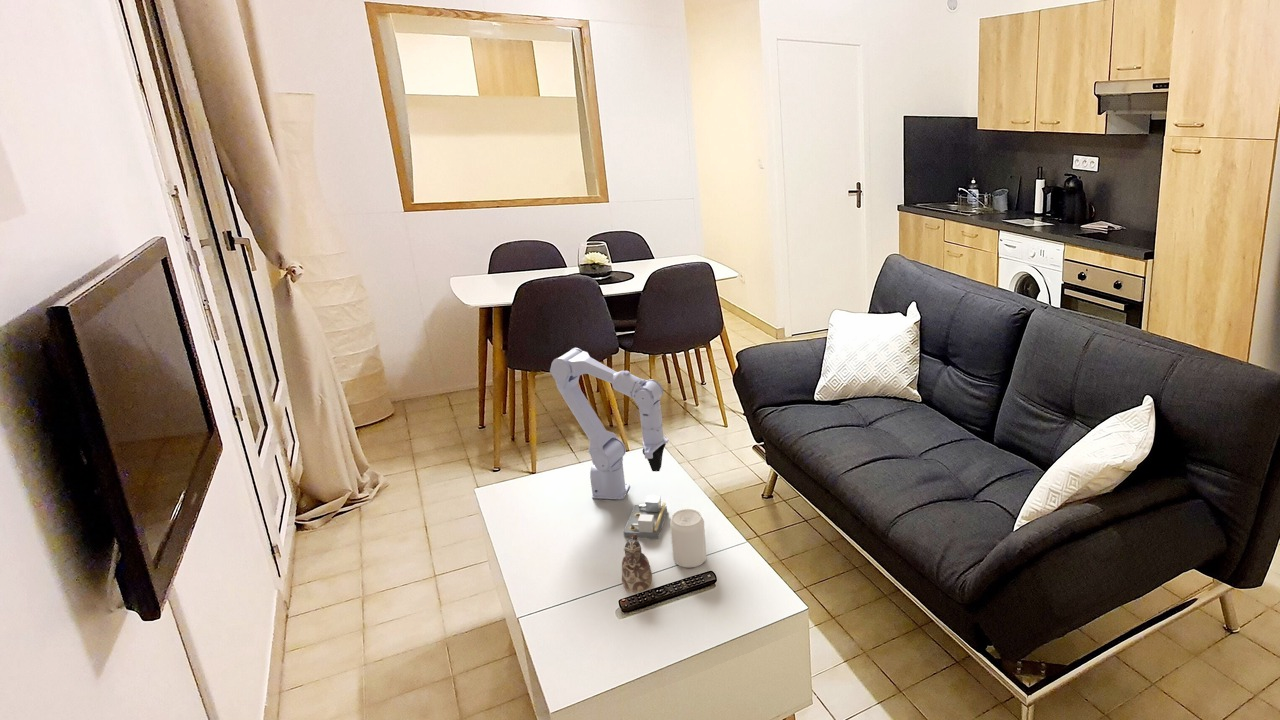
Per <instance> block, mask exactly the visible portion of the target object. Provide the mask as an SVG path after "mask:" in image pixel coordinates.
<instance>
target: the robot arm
mask: <svg viewBox="0 0 1280 720" xmlns="http://www.w3.org/2000/svg"><path fill="white" fill-rule="evenodd" d="M549 373H550V374H551V377H552V378H553V379H554V381H555V384H556V388H557V391H558V392H559V394H560V395H561V397H562V399H563V400H564V402H565V403H566V405H567V406H568V408H569V409H570V412H571V413H572V414H573V416H574V418H575V419H576V421H577V422H578V424H579V426H580V428H581V429H582V431H583V432H584V433H585V435H586V437H587V438H588V441H589V445H588V451H587V452H588V453H589V455H590V458H591V463H592V465H591V468H590V472H589V474H590V475H589V479H590V485H591V486H590V488H591V493H592V496H591V498H592V499H603V500H605V499H606V500H624V499H625V497H626V494H627V492H628V491H629V488H630V483H626V481H625V472H624V464H623V463H624V462H623V461H624V456H625V455H626V452H627V448H626V445H625V443H624V442H623V441H622V440H621V439H620V438H618V437H617V435H616V433H614V432H612V431H609V430H607V429H606V428H605V426H604V425H603V423H602V422H601V420H600V418H599V417H598V415H597V413H596V411H595V410H594V407H593V406H592V405H591V403H590V402H589V401H588V399H587V397H586V395H585V394H584V393H583V391H582V389H581V388H580V386H579V380H580V376H582V375H586V374H587V375H590V376H591V377H593V378H594V377H595V378H597V379H600V380H602V381H605V382H607V383H610V384H611V386H612V389H614V391H617V392H619V393H621V394H623V395H625V396H627V397H629V398H631V399H633V400H634V403H635V404H636V405H637V407H638V411H639V419H640V425H641V434H642V435H641V436H642V446H643V448H642V455H644V459H646V460H647V461H648V464H649V466H650V469H651V472H660V471H661V468H662V463H663V453H664V449H665V447H666V444H668V442H669V438H668V437H665V436H664V427H663V426H664V425H663V418H662V416H663V415H662V407H661V398H662V396H663V395H664V389H663V387H662V385H661V383H659V382H658V381H657V380H655V379H654V378H653V379H652V378H651V379H644V378H640V377H638V376H636V375H634V374H632V373H631V372H630V371H629V370H620V371H616V370H614V369H612V368H611V367H609V366H607V365H606V364H604V363H602V362H600V361H598V360H596V359H594V358H593V357H591V356H590V354H589V352H588V351H585V350H582V349H581V348H578V347H573V348H571V349H570V350H569V351H567V352H565V353H564V354H562V355H561V356H559V357H556V358H554V359H553V360H552V362H551V365H550V368H549Z"/></svg>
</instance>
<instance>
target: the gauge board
mask: <svg viewBox="0 0 1280 720" xmlns="http://www.w3.org/2000/svg"><path fill="white" fill-rule="evenodd" d="M639 505H640V504H634V506H633V508H632V511H631V513H630V516H629V519H628V521H627V523H626V526H625V529H624V531H623V537H624V538H630V539H631V538H633V534H635V535H637V539H649V540H651V539H652V540H659V537H660V534H661V532H662V531H661V530H662V528H663V525H664V522H665V519H666V516H667V512H668V508H667V507H668V506H667V505H666V502H663V503H662V504H661V508H660V511H659V512H650V511H646V508H639Z"/></svg>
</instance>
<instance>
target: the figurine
mask: <svg viewBox="0 0 1280 720" xmlns="http://www.w3.org/2000/svg"><path fill="white" fill-rule="evenodd" d="M623 551H624V556H623V558H622V562H621V573H622V574H621V583H622V585H623V587H624V588H625V590H626V591H627V592H628V593H634V594H638V593H642V592H645V591H647V590H649V589H650V587H651V586H652V583H653V573H652V568H651V565H650V562H649V560H648V559H649V558H648V557H647V556H646V555H645V554H644V553H642V545H641V543H640V542H639V540H638V538H637V535H635V534H633V538H632V539H629V540H627V542H625V545H624V548H623ZM641 591H642V592H641ZM637 592H638V593H637Z"/></svg>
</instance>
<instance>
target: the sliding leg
mask: <svg viewBox="0 0 1280 720" xmlns="http://www.w3.org/2000/svg"><path fill="white" fill-rule="evenodd" d="M644 502H645V503H644V504H638V505H639V508H646V511H650V512H659V511H660V508H661V506H662V501H661V496H659V495H657V496H656V495H647V496H646V499H645V501H644Z"/></svg>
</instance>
